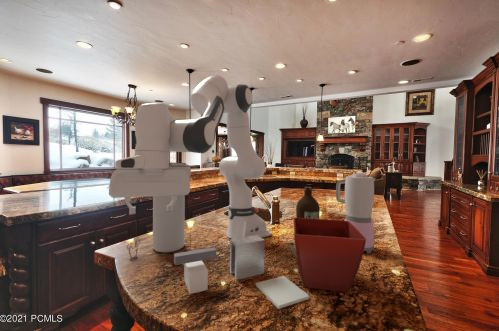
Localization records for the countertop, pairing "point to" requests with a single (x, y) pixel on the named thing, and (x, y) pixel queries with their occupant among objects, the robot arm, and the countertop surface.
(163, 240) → the cylinder vase
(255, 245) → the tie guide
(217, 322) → the countertop surface
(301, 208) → the olive oil
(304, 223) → the plant pot
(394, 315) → the countertop surface
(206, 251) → the bar
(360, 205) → the blender
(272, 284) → the sage mat
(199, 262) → the off-white cardboard box
